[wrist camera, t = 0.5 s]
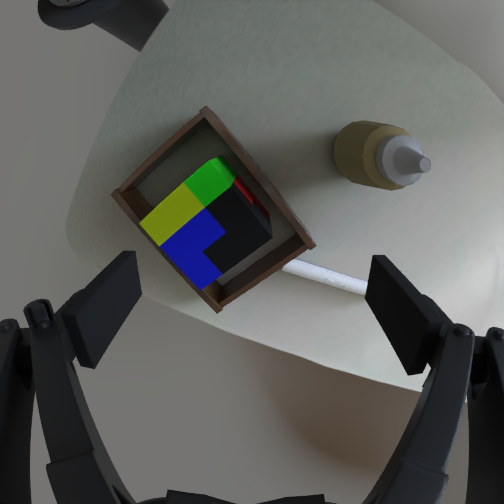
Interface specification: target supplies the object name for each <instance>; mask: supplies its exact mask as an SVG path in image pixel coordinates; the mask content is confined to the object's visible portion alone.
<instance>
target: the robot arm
mask: <svg viewBox="0 0 504 504" xmlns="http://www.w3.org/2000/svg"><path fill="white" fill-rule="evenodd" d="M49 1H50V2H51V3H52V4H54V5H56V6H58V7H60V8H64V9H69V8H74V7H78V6H80V5H83V4H85V3H87V2H89V1H91V0H49ZM141 295H142V291H141V285H140V279H139V272H138V266H137V259H136V252H135V251H122V252H121V253H120V254H119V255H118V256H117V257H116V258H115V259H114V260H113V261H112V262H111V263H110V264H109V265H108V266H107V267H106V268H104V269H103V270H102V271H101V272H100V273H99V274H98V275H97V276H96V277H95V278H94V279H93V280H92V281H91V282H90V283H89V284H88V285H87V286H86V287H85V288H84V289H81V290H80V291H78V292H76V293H74V294H73V295H72V296H71V297H70V298H69V300H67V301H66V302H65V305H62V307H61V308H60V309H59V310H58V311H57V312H56V313H55V314H54V312H53V309H52V306H51V303H50V301H49V300H47V299H38V300H35V301H32V302H30V303H29V304H27V306H25V308H24V310H23V311H24V314H25V317H26V319H27V322H28V325H29V327H30V328H20V327H19V324H18V322H17V320H15V319H5V320H2V321H1V322H0V504H31V488H30V441H31V425H32V413H33V404H34V395H35V391H36V397H37V403H38V409H39V414H40V419H41V424H42V429H43V433H44V437H45V441H46V445H47V449H48V452H49V456H50V460H51V463H49V464H47V465H46V470H47V475H48V478H49V481H50V484H51V487H52V490H53V493H54V495H55V498H56V501H57V504H235V503H231V502H228V501H224V500H221V499H217V498H214V497H210V496H208V495H204V494H195V493H187V492H180V491H174V490H168V491H167V495H166V497H162V498H153V499H149V500H145V501H142V502H139V503H136V502H135V500H134V499H133V498H132V496H131V495H130V494H129V492H128V491H127V489H126V487H125V486H124V484H123V482H122V481H121V479H120V477H119V475H118V473H117V471H116V469H115V467H114V465H113V463H112V461H111V459H110V457H109V455H108V453H107V451H106V449H105V446H104V444H103V442H102V440H101V438H100V435H99V433H98V430H97V428H96V426H95V423H94V421H93V418H92V416H91V413H90V411H89V408H88V405H87V403H86V400H85V397H84V394H83V391H82V389H81V385H80V382H79V379H78V376H77V373H76V370H75V367H74V364H73V362H72V361H73V360H74V358H75V357H76V356H77V359H78V361H79V363H80V366H82V367H87V368H92V369H95V368H96V366H97V364H98V363H99V361H100V359H101V358H102V356H103V354H104V353H105V351H106V349H107V348H108V346H109V344H110V343H111V341H112V339H113V338H114V337H115V335H116V333H117V332H118V330H119V329H120V327H121V326H122V324H123V322H124V321H125V319H126V318H127V316H128V315H129V313H130V312H131V310H132V309H133V307H134V306H135V304H136V303H137V301H138V300H139V298H140V297H141ZM365 300H366V302H367V303H368V305H369V307H370V308H371V310H372V312H373V313H374V315H375V317H376V318H377V320H378V322H379V324H380V325H381V327H382V329H383V331H384V332H385V334H386V336H387V338H388V340H389V341H390V343H391V345H392V347H393V349H394V350H395V352H396V354H397V356H398V358H399V360H400V361H401V363H402V365H403V367H404V369H405V371H406V373H407V375H408V376H409V375H415V374H421V373H423V371H424V369H425V367H426V364H427V362H428V364H429V366H430V367H431V370H430V372H429V374H428V376H427V378H426V380H425V382H424V384H423V386H422V387H423V390H422V392H421V395H420V397H419V400H418V402H417V404H416V407H415V409H414V411H413V414H412V416H411V418H410V420H409V423H408V425H407V427H406V429H405V431H404V433H403V435H402V437H401V439H400V441H399V443H398V445H397V447H396V449H395V451H394V453H393V455H392V457H391V458H390V460H389V462H388V464H387V465H386V467H385V469H384V471H383V472H382V474H381V476H380V477H379V480H378V481H377V482H376V484H375V486H374V487H373V489H372V490H371V492H370V493H369V495H368V496H367V498H366V499H365V500H364V501H363V503H362V504H439V503H440V500H441V498H442V496H443V493H444V491H445V488H446V486H447V482H448V479H449V478H448V475H447V474H445V469H446V466H447V463H448V461H449V457H450V455H451V452H452V449H453V445H454V442H455V439H456V435H457V432H458V428H459V424H460V420H461V416H462V412H463V408H464V404H465V399H466V394H467V403H468V419H469V467H468V483H467V494H466V503H465V504H504V330H502V329H501V328H497V327H492V328H489V330H488V331H487V334H486V336H485V337H482V336H475V334H474V332H473V331H472V330H471V329H470V328H469V327H467V326H465V325H463V324H458V323H456V324H454V323H453V322H452V321H451V320H450V319H449V318H448V316H447V315H446V314H445V313H444V312H443V311H442V310H441V309H440V307H439V306H437V304H436V303H435V302H434V301H433V300H432V299H431V298H429V297H428V296H426V295H424V294H423V295H422V294H421V293H420V292H419V291H418V290H417V289H416V288H415V287H414V285H413V284H412V283H411V282H410V281H409V280H408V279H407V278H406V277H405V276H404V275H403V274H402V273H401V271H400V270H399V269H398V268H397V267H396V266H395V265H394V264H393V263H392V262H391V261H390V260H389V259H388V258H387V257H386V256H385V255H373V256H372V262H371V268H370V273H369V279H368V284H367V289H366V294H365ZM259 504H336V503H331V502H325V499H324V494H319V495H309V496H296V497H284V498H280V499H276V500H272V501H268V502H263V503H259Z"/></svg>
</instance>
